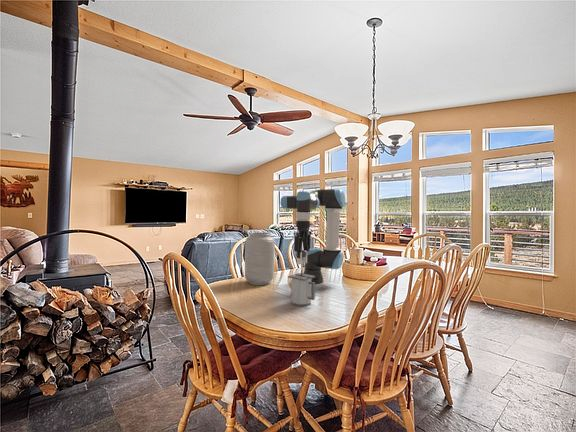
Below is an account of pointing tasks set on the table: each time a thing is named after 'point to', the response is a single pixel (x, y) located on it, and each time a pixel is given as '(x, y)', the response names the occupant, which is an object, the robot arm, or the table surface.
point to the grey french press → (302, 289)
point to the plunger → (302, 260)
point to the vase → (259, 258)
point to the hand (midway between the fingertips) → (301, 263)
